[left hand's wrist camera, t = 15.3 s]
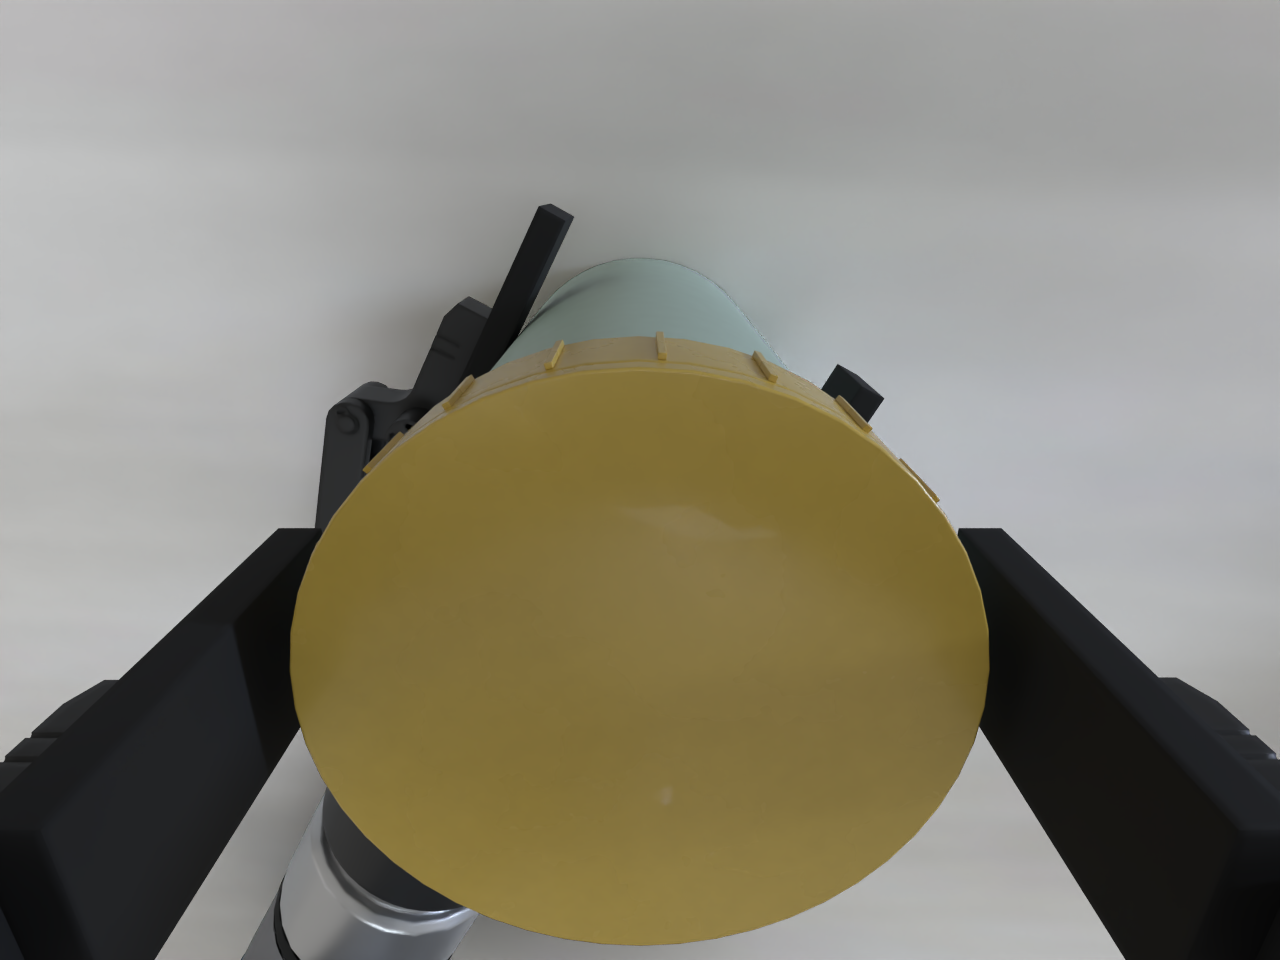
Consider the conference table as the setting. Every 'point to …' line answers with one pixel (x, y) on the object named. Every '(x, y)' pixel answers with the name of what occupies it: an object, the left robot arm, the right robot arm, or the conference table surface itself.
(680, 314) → the jar
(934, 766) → the lid
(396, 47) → the conference table surface
